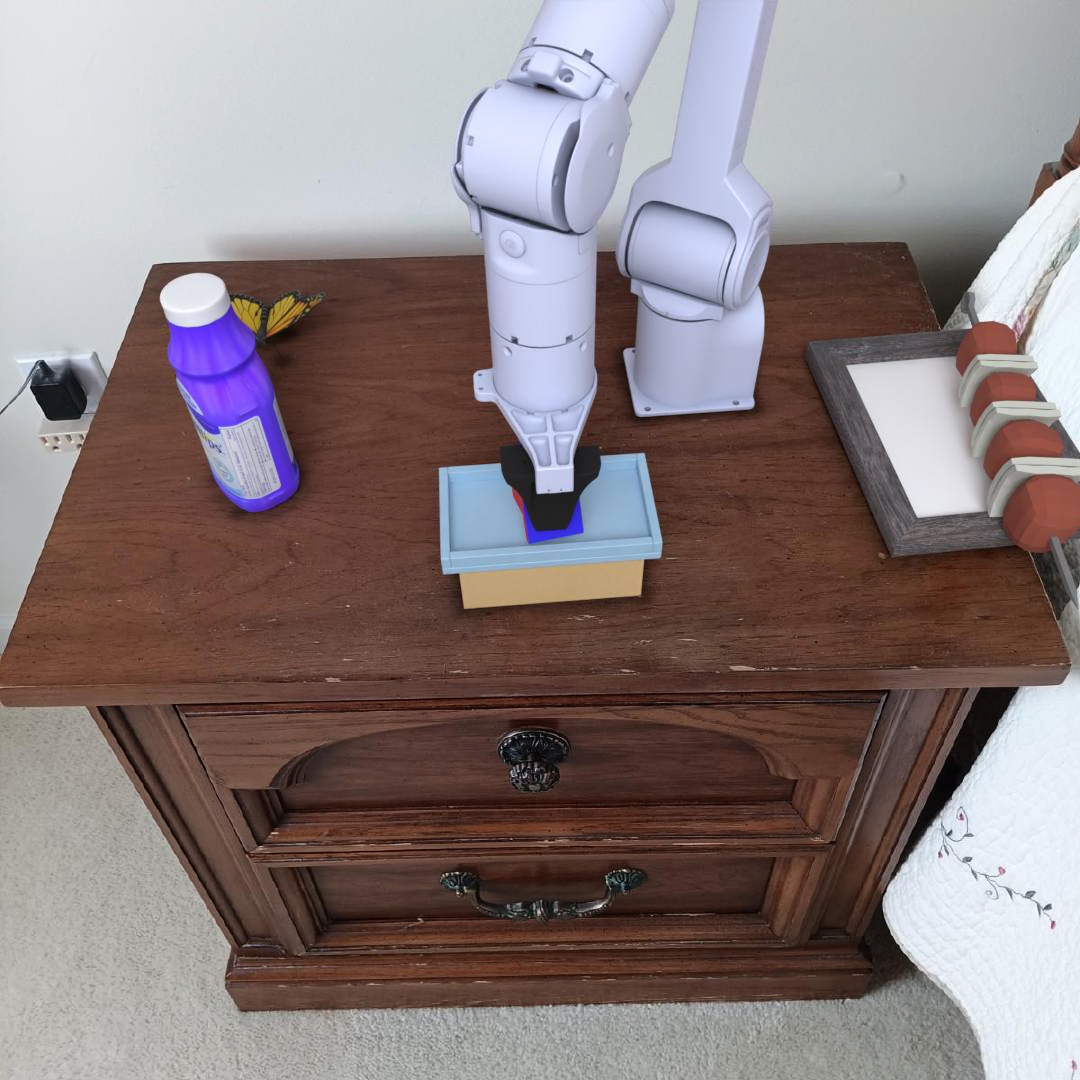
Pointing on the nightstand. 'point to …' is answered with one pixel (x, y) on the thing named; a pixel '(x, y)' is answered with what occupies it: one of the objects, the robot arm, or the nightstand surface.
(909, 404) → the picture frame
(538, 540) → the toy building block
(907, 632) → the nightstand surface
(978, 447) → the skewer
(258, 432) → the bottle
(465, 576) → the stand
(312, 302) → the butterfly
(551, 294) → the robot arm
